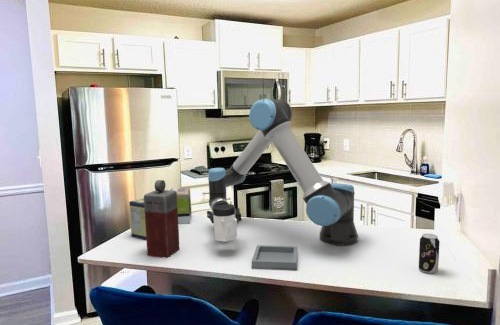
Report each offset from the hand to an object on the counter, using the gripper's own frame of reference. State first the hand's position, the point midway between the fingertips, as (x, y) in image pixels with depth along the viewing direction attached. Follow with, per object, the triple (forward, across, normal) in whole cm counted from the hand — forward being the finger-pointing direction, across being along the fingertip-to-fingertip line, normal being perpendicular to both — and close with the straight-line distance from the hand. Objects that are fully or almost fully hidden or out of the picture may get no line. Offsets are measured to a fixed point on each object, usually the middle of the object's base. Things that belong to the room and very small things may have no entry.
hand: (229, 224), depth 135 cm
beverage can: (+27, -60, -14) cm, 68 cm away
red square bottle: (-12, +25, -12) cm, 31 cm away
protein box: (-36, +29, -12) cm, 48 cm away
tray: (+6, -15, -13) cm, 21 cm away
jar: (-5, +1, -7) cm, 9 cm away
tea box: (-54, +16, -12) cm, 58 cm away
